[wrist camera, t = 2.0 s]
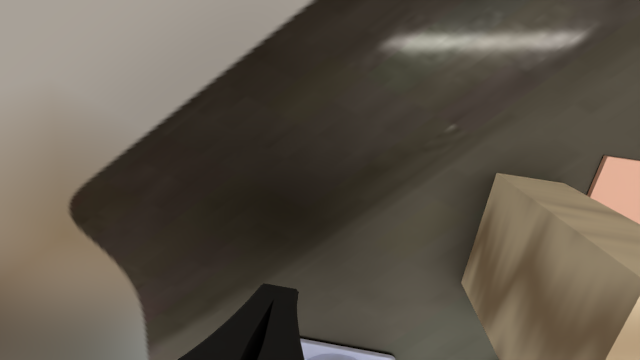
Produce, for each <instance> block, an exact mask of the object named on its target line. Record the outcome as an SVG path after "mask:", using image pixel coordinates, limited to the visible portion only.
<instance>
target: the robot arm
mask: <svg viewBox="0 0 640 360" xmlns="http://www.w3.org/2000/svg"><path fill="white" fill-rule="evenodd" d="M297 300H298V291H297V290H296V289H293V288H287V287H281V286H275V285H270V284H262V285H261V286H260V287H259V288H258V290H257V291H256V292H255V293H254V294H253V295H252V296H251V297H250V299H249V300H248V301H247V302H246V303H245V304H244V305H243V306H242V307H241V308H240V309H239V310H238V311H237V312H236V313H235V314H234V315H233V316H232V317H231V318H230V319H229V320H228V321H226V322H225V323H224V324H223V325H222V326H221V327H220V328H218V329H217V330H216V331H215V332H214V333H213V334H212V335H210V336H209V337H208V338H207V339H205V340H204V341H203V342H202V343H200V344H199V345H198V346H196V347H195V348H194V349H192V350H191V351H189V352H188V353H187V354H185V355H184V356H182V357H181V358H179V359H178V360H395V357H393V356H391V355H387V354H382V353H376V352H371V351H365V350H360V349H355V348H349V347H344V346H338V345H333V344H327V343H322V342H317V341H311V340H306V339H300V335H299V328H298V320H297Z"/></svg>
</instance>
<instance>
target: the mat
mask: <svg viewBox="0 0 640 360" xmlns="http://www.w3.org/2000/svg"><path fill="white" fill-rule="evenodd" d="M587 196H588V197H590V198H592V199H594V200H596V201H598V202H600V203H601V204H603V205H605V206H607V207H609V208H611V209H612V210H614V211H616V212H618V213H620V214H622V215H623V216H625V217H627V218H629V219H631V220H633V221H635V222H636V223H638V224H640V161H639V160H632V159H625V158H618V157H612V156H605V155H604V156H603V159H602V161H601V163H600V166H599V168H598V170H597V173H596V175H595V177H594V180H593V182H592V184H591V187H590V189H589V191H588V194H587Z"/></svg>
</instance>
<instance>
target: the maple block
mask: <svg viewBox="0 0 640 360" xmlns="http://www.w3.org/2000/svg"><path fill="white" fill-rule="evenodd" d="M461 284H462V286H463V288H464V290H465V292H466V294H467V296H468V298H469V300H470V302H471V304H472V306H473V308H474V310H475V312H476V314H477V316H478V318H479V320H480V322H481V324H482V326H483V328H484V330H485V332H486V334H487V336H488V338H489V340H490V342H491V344H492V346H493V348H494V350H495V352H496V354H497V356H498V358H499V360H640V224H638V223H636V222H635V221H633V220H631V219H629V218H627V217H625V216H623V215H622V214H620V213H618V212H616V211H614V210H612V209H611V208H609V207H607V206H605V205H603V204H601V203H600V202H598V201H596V200H594V199H592V198H590V197H588V196H587V195H585V194H583V193H581V192H579V191H577V190H576V189H574V188H572V187H570V186H568V185H566V184H565V183H559V182H553V181H546V180H540V179H533V178H527V177H520V176H514V175H507V174H501V173H496V176H495V180H494V183H493V186H492V189H491V192H490V195H489V198H488V201H487V204H486V207H485V210H484V214H483V217H482V220H481V223H480V226H479V229H478V232H477V235H476V238H475V241H474V244H473V248H472V251H471V254H470V257H469V260H468V263H467V266H466V269H465V272H464V275H463V278H462V282H461Z"/></svg>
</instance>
